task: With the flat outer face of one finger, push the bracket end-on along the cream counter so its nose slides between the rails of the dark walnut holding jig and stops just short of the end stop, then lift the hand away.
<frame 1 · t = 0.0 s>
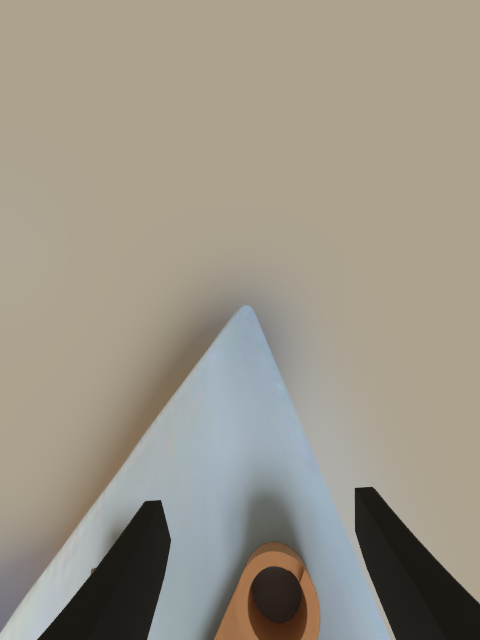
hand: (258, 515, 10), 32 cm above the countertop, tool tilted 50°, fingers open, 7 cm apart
bracket: (257, 636, 30), on the countertop
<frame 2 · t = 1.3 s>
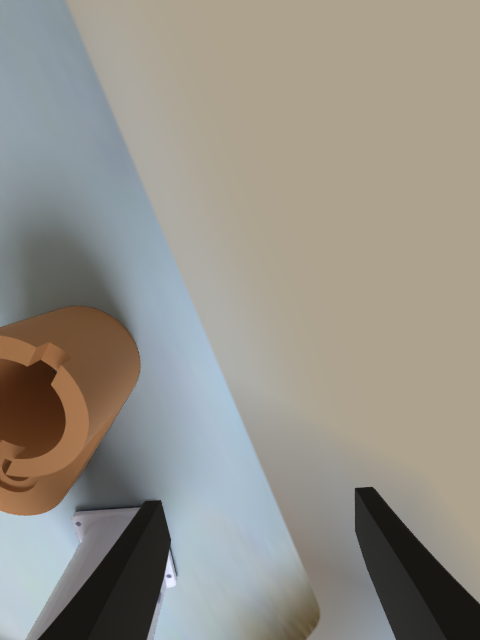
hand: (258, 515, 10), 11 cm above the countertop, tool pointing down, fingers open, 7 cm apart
bracket: (64, 403, 21), on the countertop
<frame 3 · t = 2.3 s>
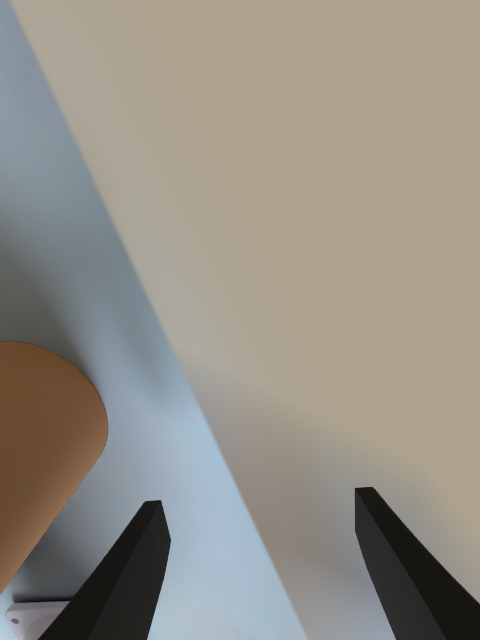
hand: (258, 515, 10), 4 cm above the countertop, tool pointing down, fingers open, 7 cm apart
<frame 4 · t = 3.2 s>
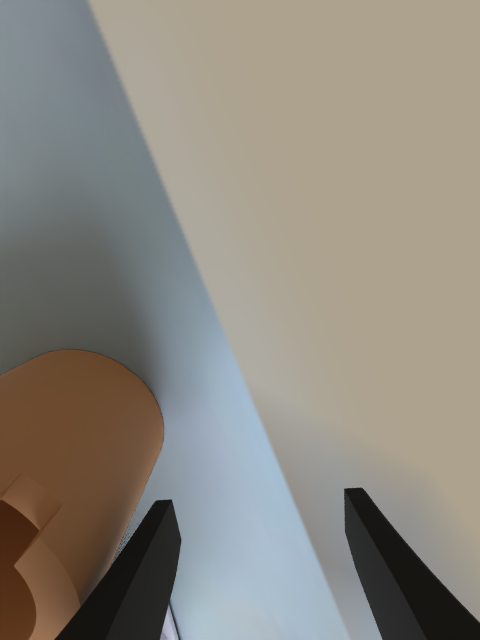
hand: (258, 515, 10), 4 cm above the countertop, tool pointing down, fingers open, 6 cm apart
bracket: (42, 476, 15), on the countertop, touching gripper
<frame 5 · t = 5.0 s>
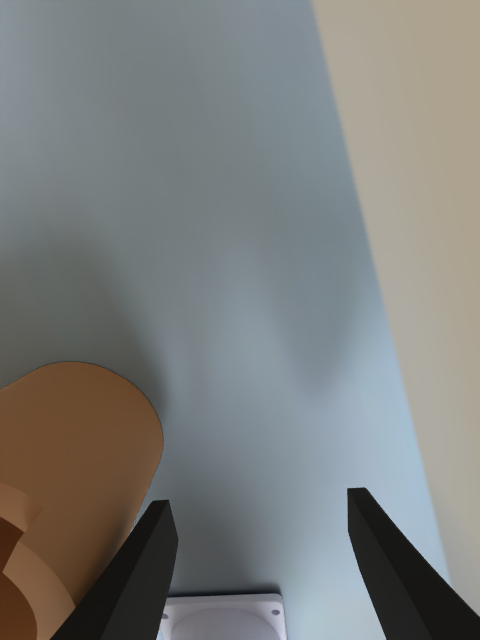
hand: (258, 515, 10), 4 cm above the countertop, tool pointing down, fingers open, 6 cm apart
bracket: (55, 492, 15), on the countertop, touching gripper, jig
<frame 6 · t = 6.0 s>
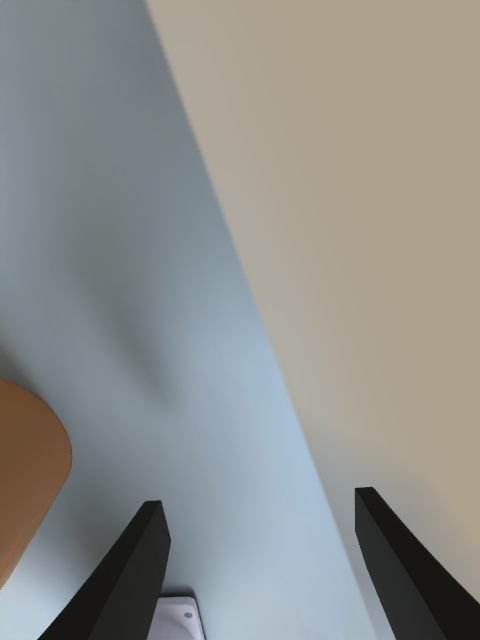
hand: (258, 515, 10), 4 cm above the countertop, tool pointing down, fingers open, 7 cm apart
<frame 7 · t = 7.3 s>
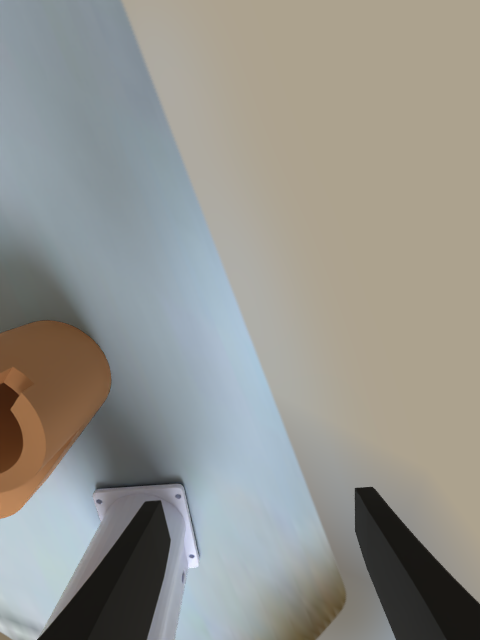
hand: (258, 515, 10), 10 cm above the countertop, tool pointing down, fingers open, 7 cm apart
bracket: (34, 411, 22), on the countertop
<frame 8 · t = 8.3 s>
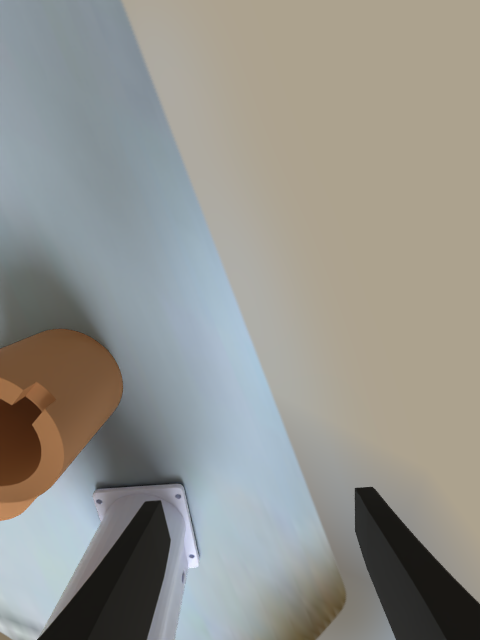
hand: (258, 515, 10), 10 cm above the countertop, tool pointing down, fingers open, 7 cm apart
bracket: (41, 415, 22), on the countertop
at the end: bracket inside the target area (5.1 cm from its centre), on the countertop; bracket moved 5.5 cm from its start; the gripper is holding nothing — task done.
